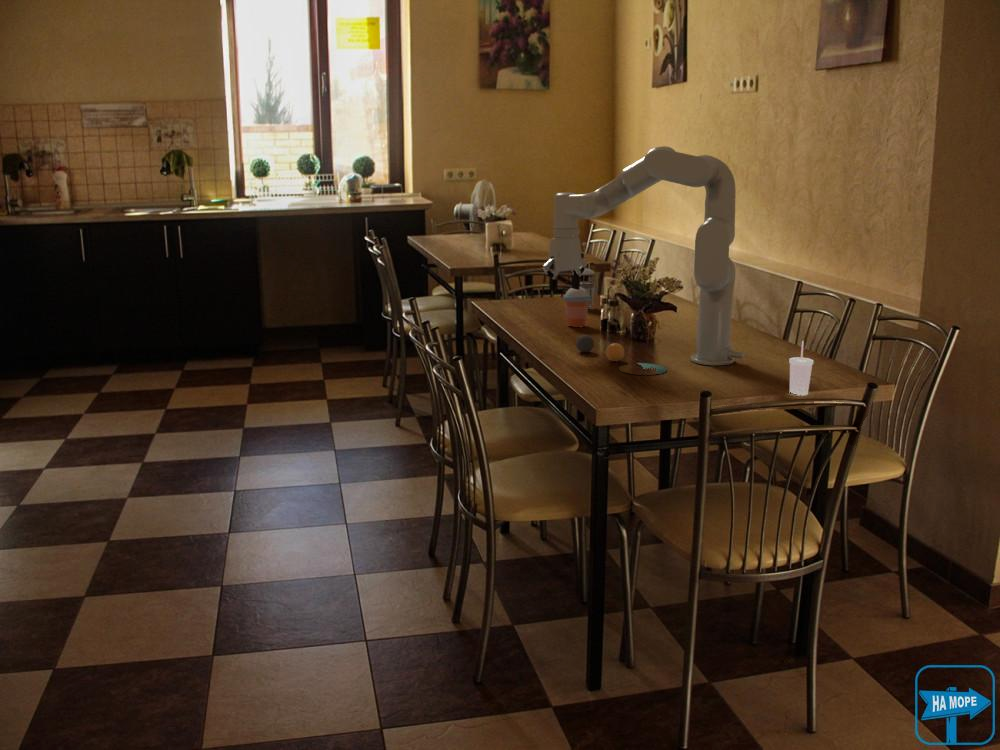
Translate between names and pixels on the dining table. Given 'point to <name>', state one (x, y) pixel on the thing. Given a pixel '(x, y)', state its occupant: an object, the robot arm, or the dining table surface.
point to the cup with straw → (576, 306)
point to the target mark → (658, 368)
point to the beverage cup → (800, 374)
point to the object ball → (615, 352)
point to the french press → (585, 284)
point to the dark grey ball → (585, 343)
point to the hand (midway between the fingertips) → (564, 289)
